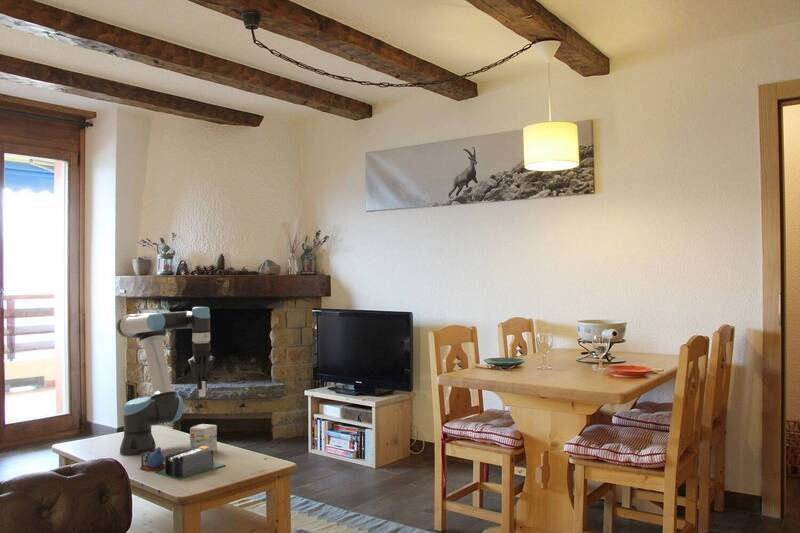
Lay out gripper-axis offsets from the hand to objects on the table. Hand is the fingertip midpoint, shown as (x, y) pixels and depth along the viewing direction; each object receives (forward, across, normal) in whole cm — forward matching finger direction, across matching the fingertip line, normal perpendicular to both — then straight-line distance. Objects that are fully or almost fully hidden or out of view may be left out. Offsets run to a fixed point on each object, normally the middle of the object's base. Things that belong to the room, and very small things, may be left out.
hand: (202, 396), depth 286 cm
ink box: (+27, +6, +8) cm, 28 cm away
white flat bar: (+20, -16, -13) cm, 29 cm away
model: (+27, -22, +4) cm, 35 cm away
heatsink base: (+26, -14, -12) cm, 32 cm away
